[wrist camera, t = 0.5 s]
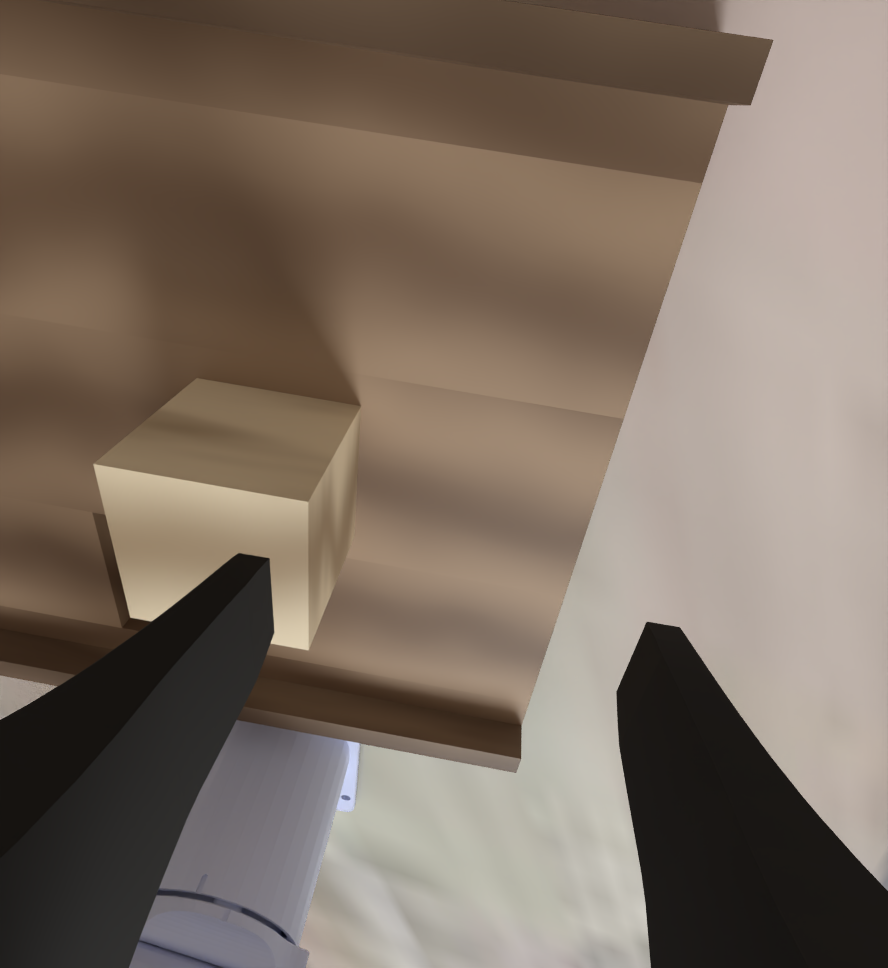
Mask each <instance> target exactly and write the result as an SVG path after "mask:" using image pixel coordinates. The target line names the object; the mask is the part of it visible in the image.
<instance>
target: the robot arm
mask: <svg viewBox="0 0 888 968" xmlns="http://www.w3.org/2000/svg"><path fill="white" fill-rule="evenodd" d="M273 635H274V618H273V603H272V587H271V572H270V558H266V557H260V556H254V555H248V554H242V553H238V554H236V555H235V556H233V557H232V558H231V559H230V560H228V561H227V562H226V563H225V564H223V565H222V566H221V567H220V568H219V569H217V570H216V571H215V572H214V573H212V574H211V575H210V576H209V577H208V578H206V579H205V580H204V581H203V582H201V583H200V584H199V585H198V586H196V587H195V588H194V589H193V590H191V591H190V592H189V593H188V594H186V595H185V596H184V597H183V598H182V599H180V600H179V601H178V602H176V603H175V604H174V605H173V606H171V607H170V608H169V609H167V610H166V611H165V612H163V613H162V614H161V615H160V616H158V617H157V618H156V619H154V620H153V621H152V622H150V623H149V624H148V625H147V626H145V627H144V628H143V629H141V630H140V631H139V632H137V633H136V634H134V635H133V636H132V637H130V638H129V639H127V640H126V641H125V642H123V643H122V644H120V645H119V646H117V647H116V648H115V649H113V650H112V651H110V652H109V653H107V654H106V655H105V656H103V657H102V658H100V659H99V660H98V661H96V662H95V663H93V664H92V665H90V666H89V667H87V668H86V669H84V670H83V671H81V672H80V673H78V674H77V675H75V676H73V677H72V678H70V679H69V680H67V681H66V682H64V683H62V684H61V685H59V686H58V687H56V688H54V689H53V690H51V691H50V692H48V693H46V694H45V695H43V696H41V697H40V698H38V699H36V700H35V701H33V702H31V703H30V704H28V705H26V706H25V707H23V708H21V709H19V710H17V711H16V712H14V713H12V714H10V715H9V716H7V717H5V718H3V719H1V720H0V968H306V964H307V960H308V956H309V951H307V950H305V949H302V948H300V947H299V944H300V940H301V937H302V933H303V929H304V926H305V922H306V918H307V915H308V911H309V907H310V904H311V900H312V896H313V893H314V889H315V885H316V882H317V878H318V874H319V871H320V867H321V863H322V860H323V856H324V852H325V849H326V845H327V841H328V838H329V834H330V830H331V827H332V823H333V819H334V816H335V812H336V810H339V811H345V812H350V811H352V810H354V807H355V803H356V791H357V778H358V766H359V754H360V743H356V742H350V741H345V740H340V739H335V738H329V737H324V736H319V735H313V734H308V733H303V732H298V731H292V730H287V729H282V728H276V727H271V726H266V725H261V724H255V723H250V722H245V721H239V720H237V718H238V717H239V715H240V713H241V711H242V709H243V707H244V705H245V703H246V701H247V699H248V697H249V695H250V693H251V691H252V689H253V687H254V685H255V683H256V681H257V678H258V676H259V673H260V670H261V668H262V665H263V663H264V660H265V657H266V655H267V652H268V649H269V646H270V643H271V641H272V638H273ZM617 715H618V733H619V747H620V753H621V759H622V765H623V771H624V777H625V783H626V788H627V794H628V800H629V805H630V811H631V817H632V822H633V828H634V834H635V839H636V845H637V850H638V856H639V862H640V867H641V873H642V880H643V888H644V895H645V902H646V914H647V925H648V937H649V949H650V961H651V968H888V891H887V890H886V889H885V888H884V887H883V886H882V885H881V884H880V882H879V881H878V880H877V879H876V878H875V877H874V876H873V875H872V874H871V873H870V872H869V871H868V870H867V869H866V868H865V867H864V866H863V865H862V863H861V862H860V861H859V860H858V859H857V858H856V857H855V856H854V855H853V854H852V852H851V851H850V850H849V849H848V848H847V847H846V846H845V845H844V844H843V842H842V841H841V840H840V839H839V838H838V837H837V836H836V835H835V833H834V832H833V831H832V830H831V829H830V828H829V827H828V826H827V825H826V823H825V822H824V821H823V820H822V819H821V818H820V817H819V815H818V814H817V813H816V812H815V811H814V810H813V808H812V807H811V806H810V805H809V804H808V802H807V801H806V800H805V799H804V798H803V797H802V795H801V794H800V793H799V792H798V790H797V789H796V788H795V787H794V785H793V784H792V783H791V782H790V780H789V779H788V778H787V777H786V775H785V774H784V773H783V772H782V770H781V769H780V768H779V767H778V765H777V764H776V763H775V762H774V760H773V759H772V758H771V756H770V755H769V754H768V752H767V751H766V750H765V748H764V747H763V746H762V745H761V743H760V742H759V740H758V739H757V738H756V736H755V735H754V734H753V732H752V731H751V729H750V728H749V727H748V725H747V724H746V723H745V721H744V720H743V718H742V717H741V716H740V714H739V713H738V712H737V710H736V709H735V707H734V706H733V704H732V703H731V702H730V700H729V699H728V697H727V696H726V694H725V693H724V692H723V690H722V689H721V687H720V686H719V684H718V683H717V681H716V680H715V678H714V677H713V675H712V674H711V673H710V671H709V670H708V668H707V667H706V665H705V664H704V662H703V661H702V659H701V658H700V656H699V655H698V653H697V652H696V650H695V649H694V647H693V646H692V644H691V643H690V642H689V640H688V639H687V637H686V636H685V634H684V633H683V631H682V630H681V628H680V627H675V626H669V625H663V624H657V623H651V622H647V623H646V625H645V627H644V630H643V632H642V634H641V636H640V639H639V641H638V643H637V646H636V648H635V650H634V653H633V655H632V657H631V660H630V662H629V664H628V667H627V669H626V671H625V673H624V676H623V678H622V680H621V683H620V685H619V687H618V690H617Z"/></svg>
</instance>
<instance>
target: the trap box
mask: <svg viewBox="0 0 888 968" xmlns="http://www.w3.org/2000/svg"><path fill="white" fill-rule="evenodd" d="M772 43H773V40H770V39H763V38H756V37H750V36H743V35H736V34H729V33H722V32H716V31H709V30H702V29H695V28H689V27H682V26H675V25H668V24H661V23H655V22H648V21H641V20H634V19H628V18H621V17H614V16H607V15H601V14H594V13H587V12H580V11H573V10H567V9H560V8H553V7H546V6H540V5H533V4H526V3H519V2H512V1H506V0H0V675H1V676H7V677H12V678H17V679H23V680H28V681H33V682H39V683H44V684H49V685H54V686H59V685H61V684H62V683H64V682H66V681H67V680H69V679H70V678H72V677H73V676H75V675H77V674H78V673H80V672H81V671H83V670H84V669H86V668H87V667H89V666H90V665H92V664H93V663H95V662H96V661H98V660H99V659H100V658H102V657H103V656H105V655H106V654H107V653H109V652H110V651H112V650H113V649H115V648H116V647H117V646H119V645H120V644H122V643H123V642H125V641H126V640H127V639H129V638H130V637H132V636H133V635H134V634H136V633H137V632H139V631H140V630H141V629H143V628H144V627H145V626H147V625H148V624H149V623H150V622H152V621H146V620H141V619H135V618H130V614H129V610H128V606H127V602H126V597H125V593H124V589H123V585H122V581H121V577H120V573H119V569H118V564H117V560H116V556H115V552H114V548H113V544H112V540H111V536H110V531H109V527H108V523H107V519H106V515H105V511H104V507H103V503H102V498H101V494H100V490H99V486H98V482H97V478H96V474H95V469H94V465H93V464H94V463H95V462H96V461H97V460H99V459H100V458H101V457H102V456H103V455H105V454H106V453H107V452H108V451H109V450H111V449H112V448H113V447H114V446H115V445H117V444H118V443H119V442H120V441H121V440H123V439H124V438H125V437H126V436H128V435H129V434H130V433H131V432H132V431H134V430H135V429H136V428H137V427H138V426H140V425H141V424H142V423H143V422H144V421H146V420H147V419H148V418H149V417H150V416H152V415H153V414H154V413H155V412H156V411H158V410H159V409H160V408H161V407H162V406H164V405H165V404H166V403H167V402H168V401H170V400H171V399H172V398H173V397H175V396H176V395H177V394H178V393H179V392H181V391H182V390H183V389H184V388H185V387H187V386H188V385H189V384H190V383H191V382H193V381H194V380H195V379H196V378H199V379H205V380H211V381H217V382H223V383H229V384H234V385H240V386H246V387H252V388H258V389H264V390H270V391H275V392H281V393H287V394H293V395H299V396H305V397H311V398H316V399H322V400H328V401H334V402H340V403H346V404H352V405H357V406H361V419H360V438H359V457H358V475H357V494H356V513H355V531H354V539H353V541H352V544H351V546H350V549H349V551H348V554H347V556H346V559H345V561H344V564H343V566H342V569H341V571H340V574H339V576H338V579H337V581H336V584H335V586H334V589H333V591H332V594H331V596H330V598H329V601H328V603H327V606H326V608H325V611H324V613H323V616H322V618H321V621H320V623H319V626H318V628H317V631H316V633H315V636H314V638H313V641H312V643H311V646H310V648H309V650H303V649H298V648H292V647H287V646H282V645H276V644H271V643H270V646H269V649H268V652H267V655H266V657H265V660H264V663H263V665H262V668H261V670H260V673H259V676H258V678H257V681H256V683H255V685H254V687H253V689H252V691H251V693H250V695H249V697H248V699H247V701H246V703H245V705H244V707H243V709H242V711H241V713H240V715H239V717H238V718H237V720H239V721H245V722H250V723H255V724H261V725H266V726H271V727H276V728H282V729H287V730H292V731H298V732H303V733H308V734H313V735H319V736H324V737H329V738H335V739H340V740H345V741H350V742H356V743H361V744H366V745H372V746H377V747H382V748H388V749H393V750H398V751H403V752H409V753H414V754H419V755H425V756H430V757H435V758H440V759H446V760H451V761H456V762H462V763H467V764H472V765H477V766H483V767H488V768H493V769H499V770H504V771H509V772H514V773H516V772H517V769H518V766H519V763H520V760H521V725H522V722H523V719H524V716H525V713H526V710H527V707H528V704H529V701H530V698H531V695H532V692H533V689H534V686H535V683H536V680H537V677H538V674H539V671H540V668H541V665H542V662H543V659H544V656H545V653H546V650H547V647H548V644H549V641H550V638H551V635H552V632H553V629H554V626H555V623H556V620H557V617H558V614H559V611H560V608H561V605H562V602H563V599H564V596H565V593H566V590H567V587H568V584H569V581H570V578H571V575H572V572H573V569H574V566H575V563H576V560H577V557H578V554H579V551H580V548H581V545H582V542H583V539H584V536H585V533H586V530H587V527H588V524H589V521H590V518H591V515H592V512H593V509H594V506H595V503H596V500H597V497H598V494H599V491H600V488H601V485H602V482H603V479H604V476H605V473H606V470H607V467H608V464H609V461H610V458H611V455H612V452H613V449H614V446H615V443H616V440H617V437H618V434H619V431H620V428H621V425H622V422H623V419H624V416H625V413H626V410H627V407H628V404H629V401H630V398H631V395H632V392H633V389H634V386H635V383H636V380H637V377H638V374H639V371H640V368H641V365H642V362H643V359H644V356H645V353H646V350H647V347H648V344H649V341H650V338H651V335H652V332H653V329H654V326H655V323H656V320H657V317H658V314H659V311H660V308H661V305H662V302H663V299H664V296H665V293H666V290H667V287H668V284H669V281H670V278H671V275H672V272H673V269H674V266H675V263H676V260H677V257H678V254H679V251H680V248H681V245H682V242H683V239H684V236H685V233H686V230H687V227H688V224H689V221H690V218H691V215H692V212H693V209H694V206H695V203H696V200H697V197H698V194H699V191H700V188H701V185H702V182H703V179H704V176H705V173H706V170H707V167H708V164H709V161H710V158H711V155H712V152H713V149H714V146H715V143H716V140H717V137H718V134H719V131H720V128H721V125H722V122H723V119H724V116H725V113H726V110H727V107H728V105H751V102H752V100H753V97H754V94H755V91H756V88H757V85H758V82H759V80H760V77H761V74H762V71H763V68H764V65H765V63H766V60H767V57H768V54H769V51H770V48H771V45H772Z"/></svg>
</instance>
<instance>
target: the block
mask: <svg viewBox="0 0 888 968" xmlns="http://www.w3.org/2000/svg"><path fill="white" fill-rule="evenodd" d="M360 419H361V406H357V405H352V404H346V403H340V402H334V401H328V400H322V399H316V398H311V397H305V396H299V395H293V394H287V393H281V392H275V391H270V390H264V389H258V388H252V387H246V386H240V385H234V384H229V383H223V382H217V381H211V380H205V379H199V378H196V379H195V380H194V381H193V382H191V383H190V384H189V385H188V386H187V387H185V388H184V389H183V390H182V391H181V392H179V393H178V394H177V395H176V396H175V397H173V398H172V399H171V400H170V401H168V402H167V403H166V404H165V405H164V406H162V407H161V408H160V409H159V410H158V411H156V412H155V413H154V414H153V415H152V416H150V417H149V418H148V419H147V420H146V421H144V422H143V423H142V424H141V425H140V426H138V427H137V428H136V429H135V430H134V431H132V432H131V433H130V434H129V435H128V436H126V437H125V438H124V439H123V440H121V441H120V442H119V443H118V444H117V445H115V446H114V447H113V448H112V449H111V450H109V451H108V452H107V453H106V454H105V455H103V456H102V457H101V458H100V459H99V460H97V461H96V462H95V463H94V464H93V465H94V469H95V474H96V478H97V482H98V486H99V490H100V494H101V498H102V503H103V507H104V511H105V515H106V519H107V523H108V527H109V531H110V536H111V540H112V544H113V548H114V552H115V556H116V560H117V564H118V569H119V573H120V577H121V581H122V585H123V589H124V593H125V597H126V602H127V606H128V610H129V614H130V618H135V619H141V620H146V621H153V620H154V619H156V618H157V617H158V616H160V615H161V614H162V613H163V612H165V611H166V610H167V609H169V608H170V607H171V606H173V605H174V604H175V603H176V602H178V601H179V600H180V599H182V598H183V597H184V596H185V595H186V594H188V593H189V592H190V591H191V590H193V589H194V588H195V587H196V586H198V585H199V584H200V583H201V582H203V581H204V580H205V579H206V578H208V577H209V576H210V575H211V574H212V573H214V572H215V571H216V570H217V569H219V568H220V567H221V566H222V565H223V564H225V563H226V562H227V561H228V560H230V559H231V558H232V557H233V556H235V555H236V554H238V553H242V554H248V555H254V556H260V557H266V558H270V572H271V587H272V603H273V618H274V635H273V638H272V641H271V644H276V645H282V646H287V647H292V648H298V649H303V650H309V648H310V646H311V643H312V641H313V638H314V636H315V633H316V631H317V628H318V626H319V623H320V621H321V618H322V616H323V613H324V611H325V608H326V606H327V603H328V601H329V598H330V596H331V594H332V591H333V589H334V586H335V584H336V581H337V579H338V576H339V574H340V571H341V569H342V566H343V564H344V561H345V559H346V556H347V554H348V551H349V549H350V546H351V544H352V541H353V539H354V531H355V513H356V494H357V475H358V457H359V438H360Z"/></svg>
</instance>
